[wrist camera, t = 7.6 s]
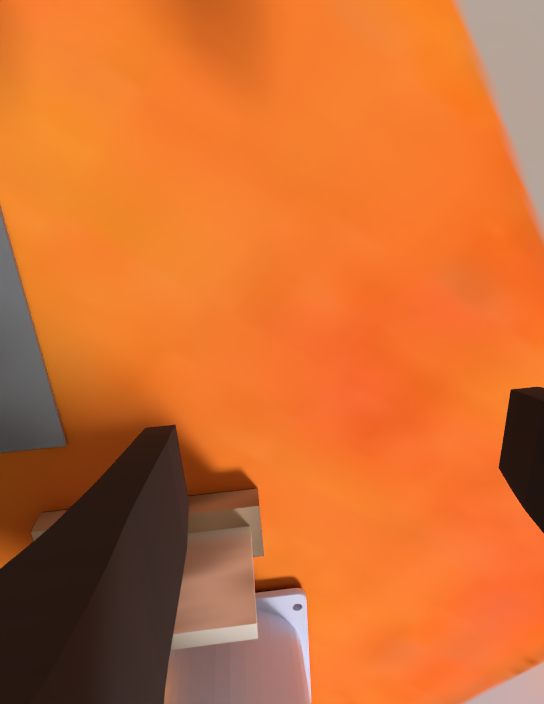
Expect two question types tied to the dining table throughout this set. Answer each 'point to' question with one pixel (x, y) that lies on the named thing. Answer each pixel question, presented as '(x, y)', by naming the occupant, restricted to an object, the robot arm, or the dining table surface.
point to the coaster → (22, 367)
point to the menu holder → (212, 568)
